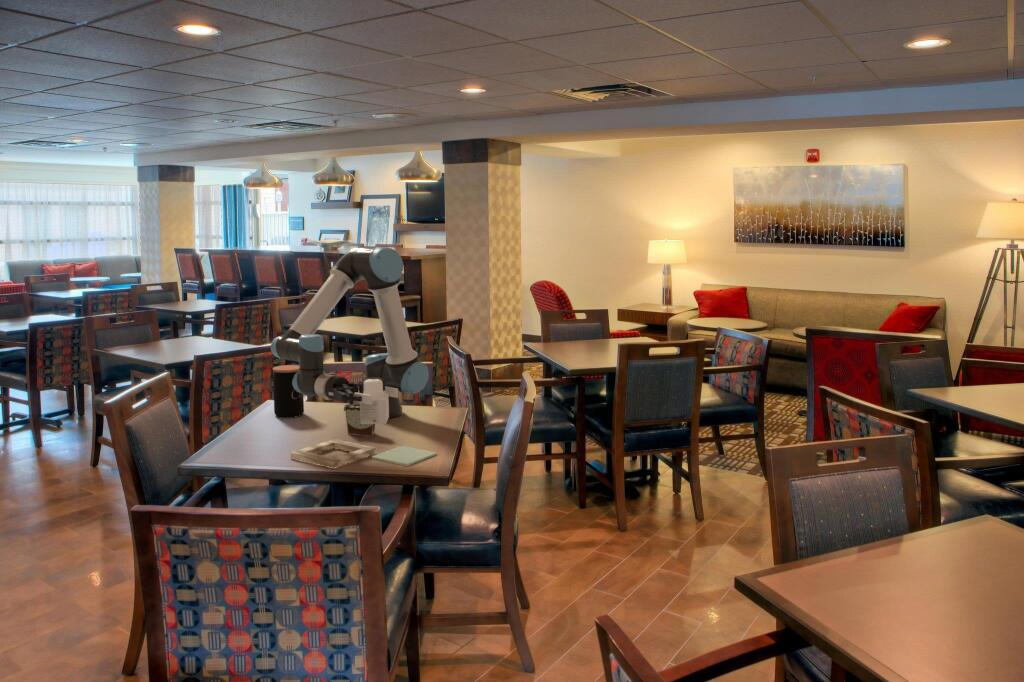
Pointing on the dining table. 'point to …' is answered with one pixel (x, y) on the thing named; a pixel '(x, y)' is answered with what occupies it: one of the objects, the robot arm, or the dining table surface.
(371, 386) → the container
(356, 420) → the food container
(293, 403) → the coffee jar
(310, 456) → the square picture frame
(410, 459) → the pad
